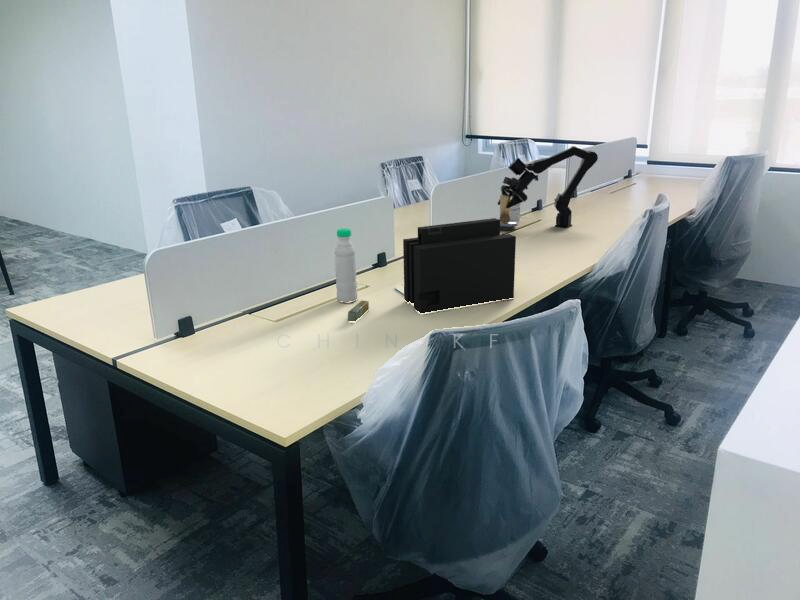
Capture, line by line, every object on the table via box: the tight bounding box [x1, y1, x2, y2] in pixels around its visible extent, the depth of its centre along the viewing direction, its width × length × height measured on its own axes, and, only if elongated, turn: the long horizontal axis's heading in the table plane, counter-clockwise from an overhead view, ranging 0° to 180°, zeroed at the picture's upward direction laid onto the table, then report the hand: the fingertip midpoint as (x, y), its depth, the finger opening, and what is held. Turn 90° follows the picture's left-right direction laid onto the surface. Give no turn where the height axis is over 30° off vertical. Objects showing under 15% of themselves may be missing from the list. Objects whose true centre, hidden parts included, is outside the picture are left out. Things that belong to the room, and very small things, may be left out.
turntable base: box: [500, 226, 516, 231], centre depth 330 cm, size 10×10×2 cm
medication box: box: [347, 299, 370, 322], centre depth 213 cm, size 12×3×4 cm, turn 162°
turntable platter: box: [499, 218, 519, 228], centre depth 329 cm, size 13×13×1 cm
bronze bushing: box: [499, 194, 511, 223], centre depth 327 cm, size 5×5×13 cm
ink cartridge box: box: [510, 196, 521, 222], centre depth 344 cm, size 9×5×15 cm, turn 84°
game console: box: [402, 217, 517, 313], centre depth 230 cm, size 35×30×27 cm
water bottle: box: [333, 227, 358, 302], centre depth 226 cm, size 7×7×25 cm
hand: (502, 206), depth 326 cm, fingers open, 9 cm apart
